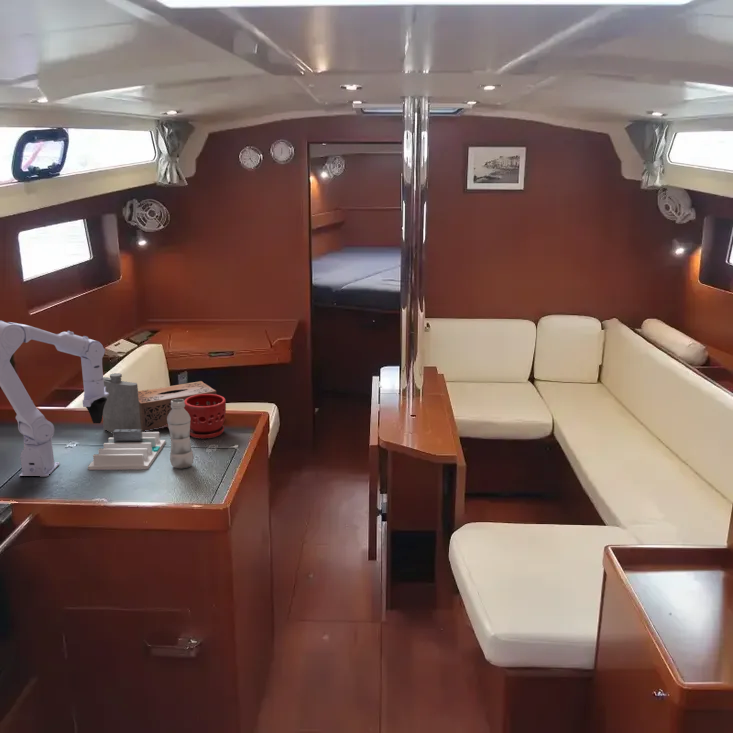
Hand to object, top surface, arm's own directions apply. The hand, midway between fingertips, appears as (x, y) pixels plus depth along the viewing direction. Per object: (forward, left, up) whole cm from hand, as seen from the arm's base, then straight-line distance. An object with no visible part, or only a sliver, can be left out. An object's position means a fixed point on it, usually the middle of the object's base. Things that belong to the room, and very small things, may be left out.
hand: (97, 422), depth 224 cm
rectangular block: (-1, -9, -8) cm, 12 cm away
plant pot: (+14, -30, -10) cm, 34 cm away
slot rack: (-4, -10, -9) cm, 14 cm away
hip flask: (+16, -2, -10) cm, 19 cm away
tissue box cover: (+30, -16, -10) cm, 35 cm away
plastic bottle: (-13, -28, -10) cm, 32 cm away
